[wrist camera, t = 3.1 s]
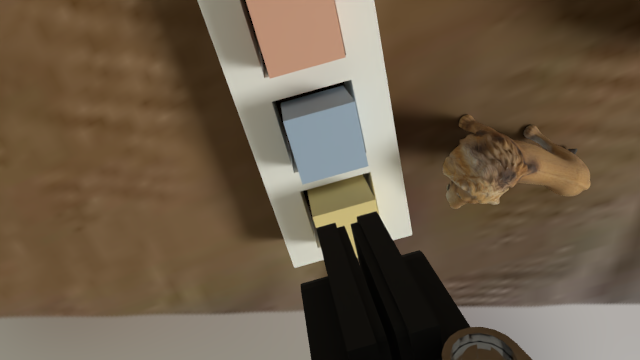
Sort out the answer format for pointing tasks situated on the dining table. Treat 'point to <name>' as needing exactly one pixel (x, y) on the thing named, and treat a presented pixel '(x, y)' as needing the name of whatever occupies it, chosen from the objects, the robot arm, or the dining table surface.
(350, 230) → the ochre button
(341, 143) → the blue button
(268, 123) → the button board
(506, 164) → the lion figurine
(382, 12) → the dining table surface
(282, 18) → the terracotta button
